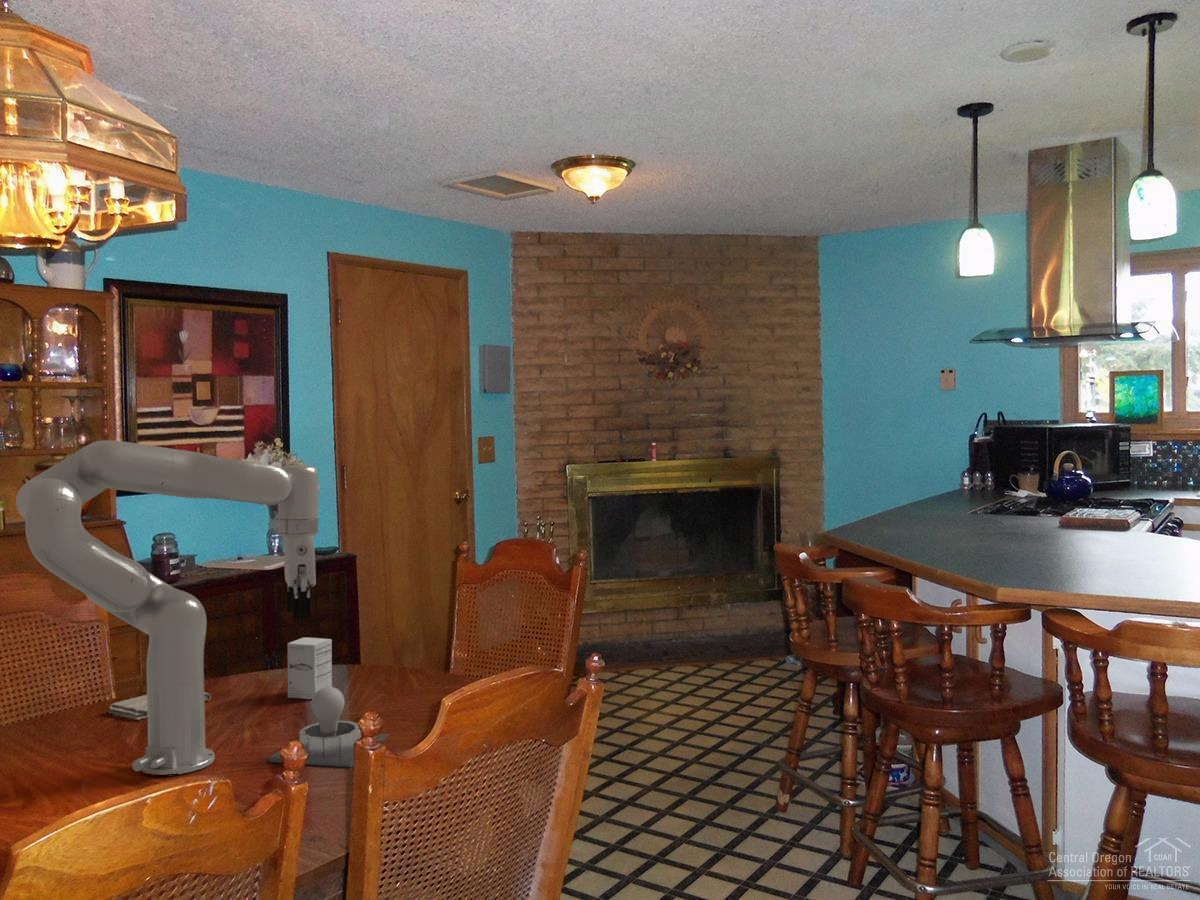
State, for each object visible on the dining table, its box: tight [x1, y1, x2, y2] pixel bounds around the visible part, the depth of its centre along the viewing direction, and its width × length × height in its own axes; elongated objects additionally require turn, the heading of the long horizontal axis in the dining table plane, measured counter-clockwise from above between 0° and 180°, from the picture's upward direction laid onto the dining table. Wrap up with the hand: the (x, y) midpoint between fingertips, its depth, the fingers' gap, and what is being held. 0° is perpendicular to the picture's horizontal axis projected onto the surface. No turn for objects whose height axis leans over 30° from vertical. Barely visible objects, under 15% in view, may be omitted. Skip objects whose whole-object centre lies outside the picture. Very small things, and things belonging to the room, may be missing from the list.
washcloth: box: [108, 691, 212, 721], centre depth 212 cm, size 12×18×3 cm, turn 150°
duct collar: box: [268, 720, 389, 769], centre depth 182 cm, size 16×16×4 cm
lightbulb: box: [310, 686, 346, 737], centre depth 182 cm, size 6×6×11 cm
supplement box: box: [287, 637, 333, 700], centre depth 221 cm, size 7×7×13 cm
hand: (298, 614), depth 189 cm, fingers open, 9 cm apart
